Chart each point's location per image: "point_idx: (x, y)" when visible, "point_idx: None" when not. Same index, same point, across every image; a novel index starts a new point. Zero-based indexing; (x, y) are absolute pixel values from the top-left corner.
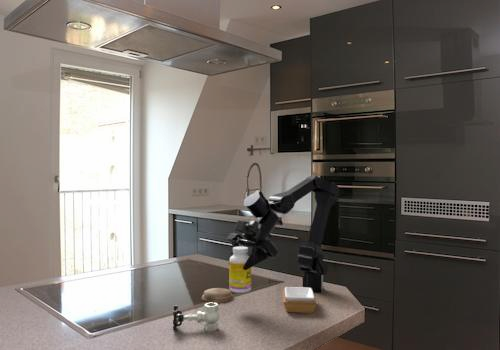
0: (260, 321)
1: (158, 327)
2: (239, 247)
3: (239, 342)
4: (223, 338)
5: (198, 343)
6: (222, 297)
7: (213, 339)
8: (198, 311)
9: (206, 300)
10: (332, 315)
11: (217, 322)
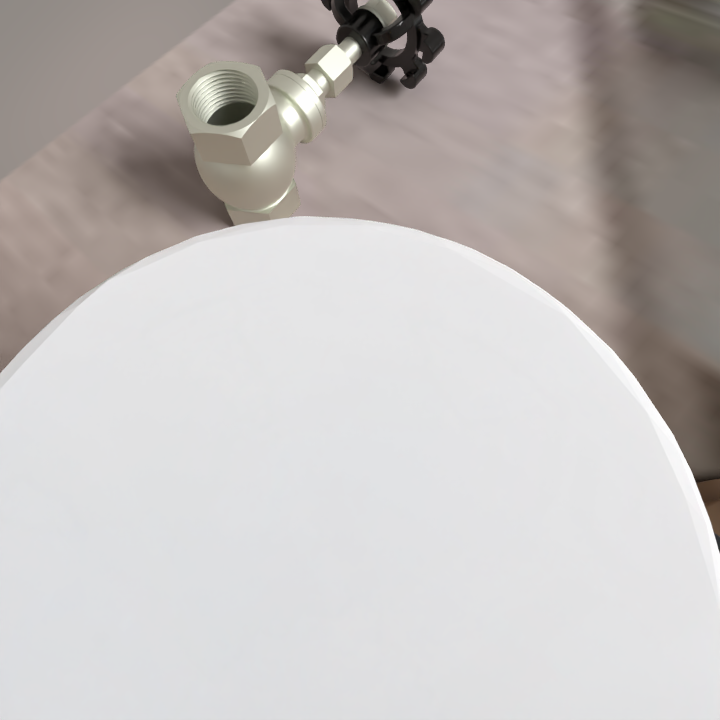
0: None
1: (468, 37)
2: (415, 624)
3: (27, 195)
4: (121, 171)
5: (174, 69)
6: None
7: (152, 134)
8: (294, 78)
9: (717, 479)
10: None
11: (231, 207)
